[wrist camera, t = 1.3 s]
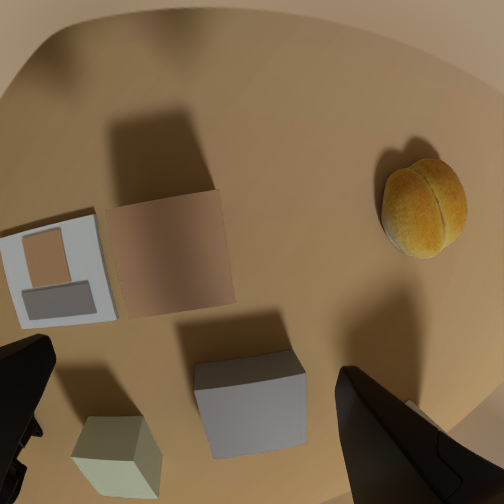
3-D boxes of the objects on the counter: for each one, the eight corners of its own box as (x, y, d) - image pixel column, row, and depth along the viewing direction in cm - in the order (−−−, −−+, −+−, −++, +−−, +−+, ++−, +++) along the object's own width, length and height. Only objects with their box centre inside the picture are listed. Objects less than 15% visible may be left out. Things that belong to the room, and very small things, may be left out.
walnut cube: (148, 287, 21) (129, 318, 15) (133, 206, 20) (105, 209, 14) (228, 274, 22) (236, 302, 16) (216, 191, 21) (218, 189, 15)
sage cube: (111, 455, 23) (100, 495, 18) (88, 415, 22) (70, 456, 16) (162, 455, 24) (158, 498, 18) (143, 415, 23) (133, 461, 17)
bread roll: (362, 183, 22) (390, 182, 18) (434, 150, 23) (463, 147, 19) (392, 273, 24) (420, 286, 20) (456, 231, 24) (485, 237, 20)
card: (24, 326, 20) (20, 329, 19) (1, 238, 18) (-3, 239, 18) (118, 317, 21) (116, 321, 20) (95, 213, 19) (92, 214, 19)
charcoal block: (211, 429, 24) (213, 459, 20) (195, 362, 23) (193, 390, 19) (294, 416, 25) (306, 443, 21) (291, 347, 24) (306, 372, 20)
